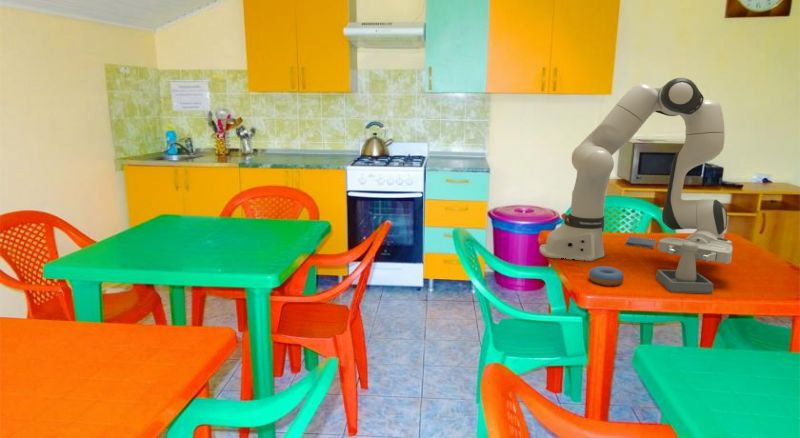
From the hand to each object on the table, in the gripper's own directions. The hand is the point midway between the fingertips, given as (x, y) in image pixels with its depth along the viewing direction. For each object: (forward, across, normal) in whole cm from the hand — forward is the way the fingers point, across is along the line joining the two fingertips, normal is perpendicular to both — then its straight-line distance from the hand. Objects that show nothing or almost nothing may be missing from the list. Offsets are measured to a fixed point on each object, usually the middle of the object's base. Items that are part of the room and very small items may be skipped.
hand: (687, 255), depth 161 cm
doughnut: (+13, -19, +10) cm, 25 cm away
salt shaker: (+1, 0, +9) cm, 9 cm away
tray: (+1, 0, +9) cm, 9 cm away
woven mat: (-38, -25, +10) cm, 46 cm away
